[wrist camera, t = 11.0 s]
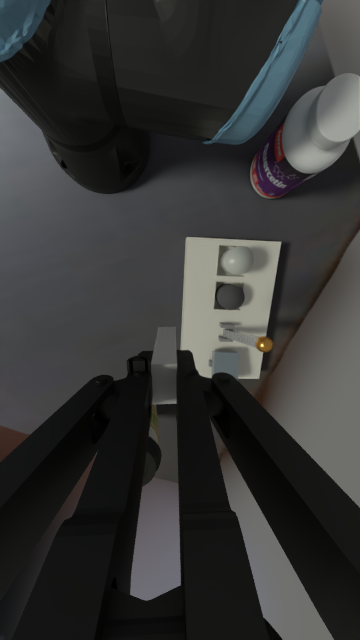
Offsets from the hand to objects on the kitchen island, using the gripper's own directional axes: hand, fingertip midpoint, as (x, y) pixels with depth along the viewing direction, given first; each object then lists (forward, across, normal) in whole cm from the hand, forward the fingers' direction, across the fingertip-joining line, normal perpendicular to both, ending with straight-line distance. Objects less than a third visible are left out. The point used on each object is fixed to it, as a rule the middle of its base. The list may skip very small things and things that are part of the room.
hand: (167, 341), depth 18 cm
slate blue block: (+16, +10, -12) cm, 23 cm away
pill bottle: (+22, +17, +21) cm, 35 cm away
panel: (+21, +10, -3) cm, 24 cm away
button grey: (+18, +11, +7) cm, 22 cm away
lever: (+17, +10, -6) cm, 21 cm away
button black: (+20, +11, +1) cm, 23 cm away
